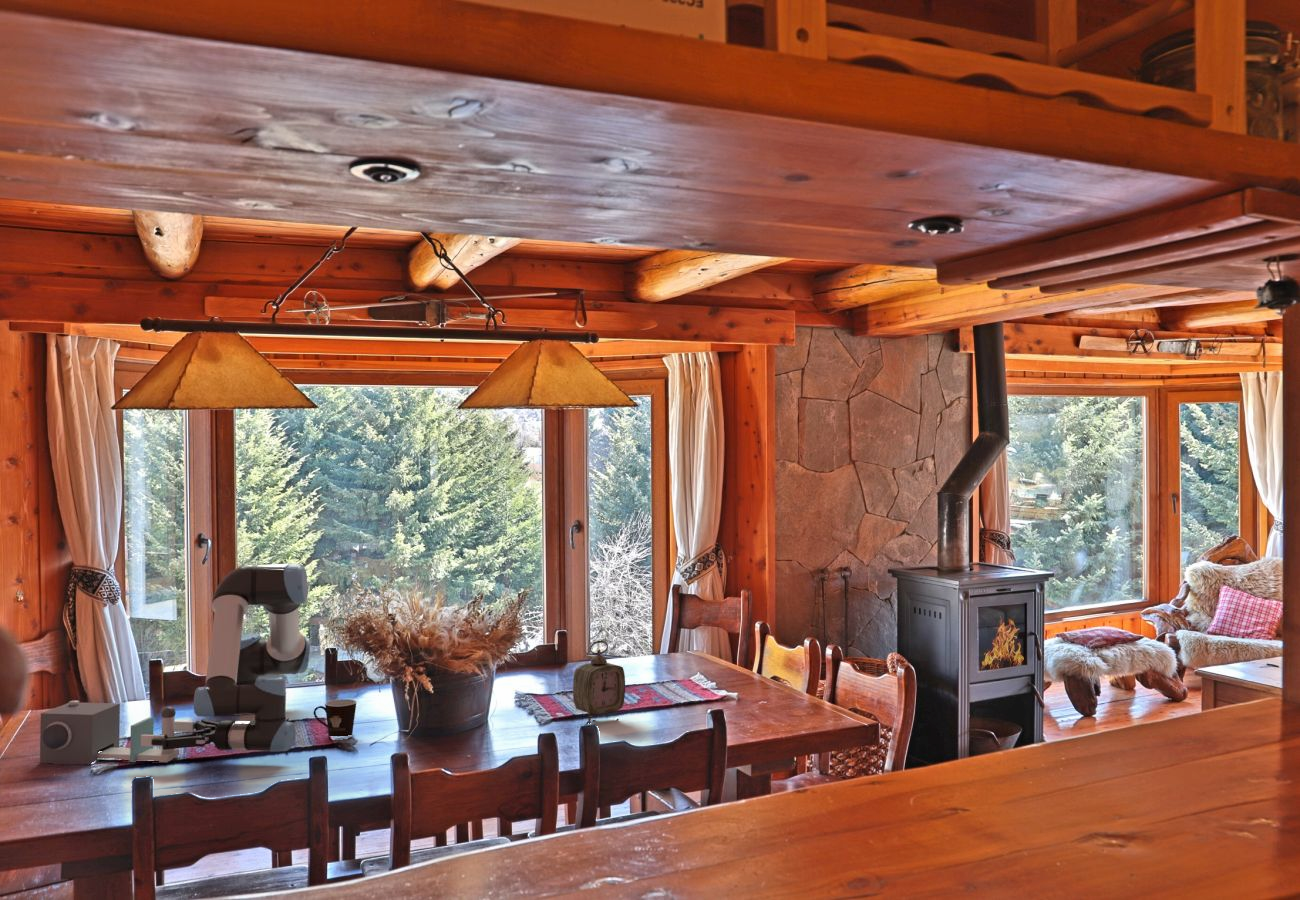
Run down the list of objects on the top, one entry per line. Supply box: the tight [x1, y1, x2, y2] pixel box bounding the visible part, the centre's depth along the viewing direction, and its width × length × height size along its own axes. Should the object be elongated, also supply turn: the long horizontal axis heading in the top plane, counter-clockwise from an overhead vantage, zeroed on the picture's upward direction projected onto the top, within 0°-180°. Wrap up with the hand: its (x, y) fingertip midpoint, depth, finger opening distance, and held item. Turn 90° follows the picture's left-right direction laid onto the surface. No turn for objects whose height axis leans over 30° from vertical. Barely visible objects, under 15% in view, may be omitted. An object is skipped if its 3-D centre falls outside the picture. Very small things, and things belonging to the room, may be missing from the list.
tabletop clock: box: [572, 640, 626, 725], centre depth 307 cm, size 14×9×25 cm, turn 131°
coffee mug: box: [313, 698, 357, 737], centre depth 288 cm, size 12×9×10 cm
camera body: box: [39, 700, 121, 766], centre depth 264 cm, size 14×14×14 cm
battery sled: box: [98, 706, 180, 763], centre depth 265 cm, size 19×9×14 cm, turn 87°
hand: (156, 733), depth 264 cm, fingers open, 13 cm apart
